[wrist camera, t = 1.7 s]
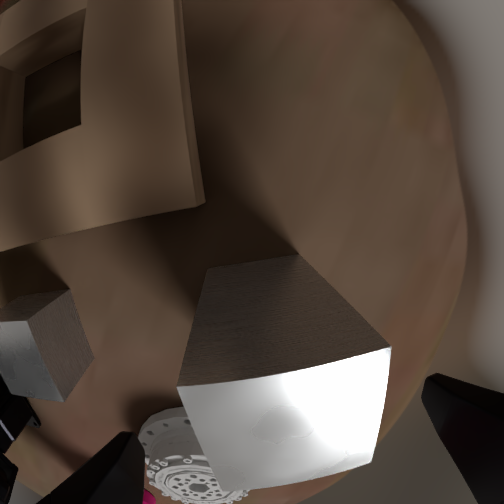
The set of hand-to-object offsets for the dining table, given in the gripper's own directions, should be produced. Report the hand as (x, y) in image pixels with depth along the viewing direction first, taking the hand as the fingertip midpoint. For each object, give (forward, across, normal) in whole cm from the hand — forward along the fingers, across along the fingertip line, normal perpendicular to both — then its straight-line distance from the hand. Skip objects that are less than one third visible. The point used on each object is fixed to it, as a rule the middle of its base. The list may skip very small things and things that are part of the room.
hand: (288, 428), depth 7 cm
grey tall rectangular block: (+10, 0, 0) cm, 10 cm away
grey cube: (+10, +14, 0) cm, 17 cm away
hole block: (+9, +10, -14) cm, 20 cm away
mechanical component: (+10, +6, +12) cm, 17 cm away
